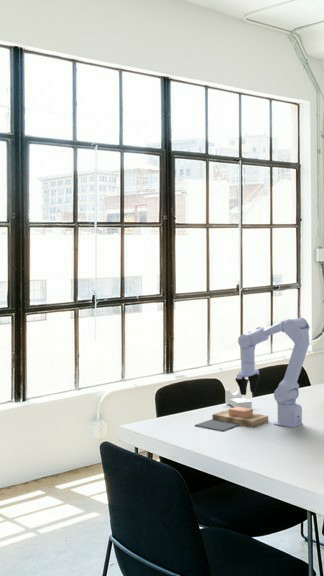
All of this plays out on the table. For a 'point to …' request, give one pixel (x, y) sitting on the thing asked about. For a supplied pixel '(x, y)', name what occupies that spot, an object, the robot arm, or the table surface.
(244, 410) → the block
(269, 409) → the table surface
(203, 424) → the mat
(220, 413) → the board
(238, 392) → the bracket
